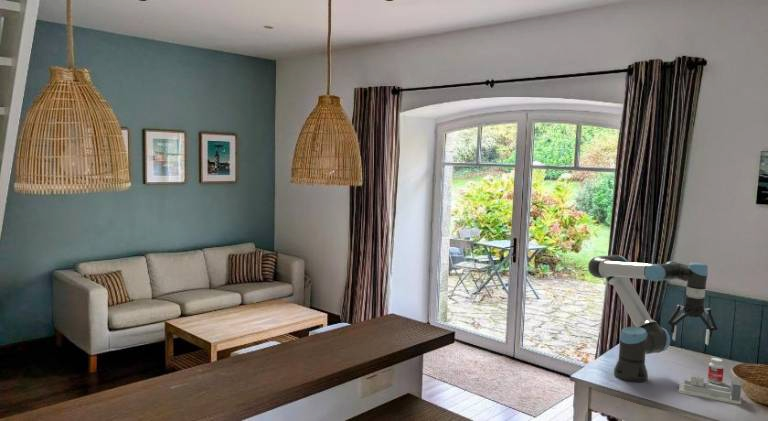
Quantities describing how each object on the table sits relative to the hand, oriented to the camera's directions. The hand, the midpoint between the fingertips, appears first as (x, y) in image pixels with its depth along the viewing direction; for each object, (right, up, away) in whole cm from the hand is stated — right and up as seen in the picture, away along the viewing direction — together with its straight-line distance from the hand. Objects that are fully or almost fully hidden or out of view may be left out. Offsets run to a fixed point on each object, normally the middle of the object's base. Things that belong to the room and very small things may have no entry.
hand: (690, 341), depth 262 cm
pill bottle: (+18, -22, +11) cm, 30 cm away
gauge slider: (+2, -21, -4) cm, 21 cm away
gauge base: (+6, -23, -5) cm, 24 cm away
